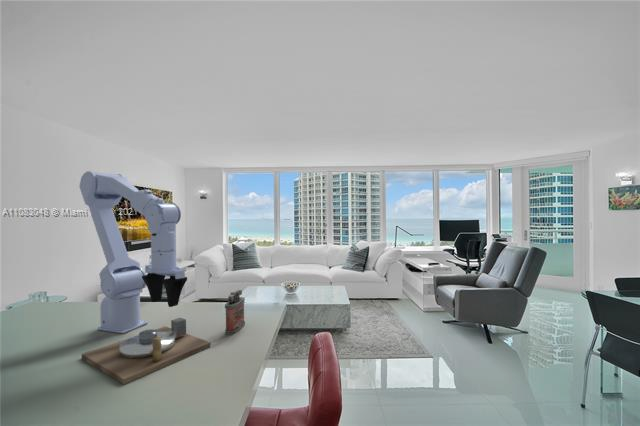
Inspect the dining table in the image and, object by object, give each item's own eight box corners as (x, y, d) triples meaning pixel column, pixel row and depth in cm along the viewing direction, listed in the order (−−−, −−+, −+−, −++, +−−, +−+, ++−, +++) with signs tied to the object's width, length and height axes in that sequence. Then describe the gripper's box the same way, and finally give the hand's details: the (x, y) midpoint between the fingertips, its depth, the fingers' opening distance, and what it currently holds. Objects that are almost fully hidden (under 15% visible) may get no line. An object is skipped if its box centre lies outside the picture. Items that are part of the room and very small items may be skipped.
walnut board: (81, 358, 69) (81, 333, 69) (165, 329, 85) (164, 309, 85) (124, 384, 58) (123, 355, 58) (210, 346, 74) (210, 323, 74)
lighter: (234, 335, 81) (233, 296, 81) (222, 334, 82) (221, 295, 81) (247, 323, 89) (247, 288, 89) (236, 323, 89) (236, 287, 89)
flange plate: (110, 349, 70) (109, 332, 70) (170, 329, 82) (170, 314, 82) (135, 362, 64) (135, 344, 64) (196, 338, 76) (196, 322, 76)
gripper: (132, 250, 81) (133, 302, 81) (164, 254, 73) (165, 312, 73) (159, 247, 87) (160, 296, 87) (191, 250, 79) (192, 304, 79)
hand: (164, 303), depth 81 cm, fingers open, 7 cm apart
